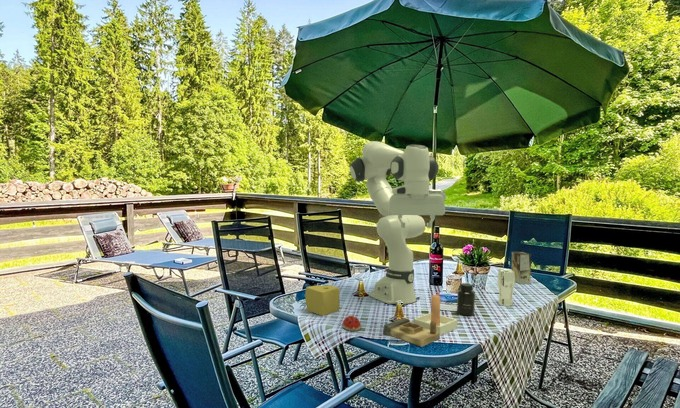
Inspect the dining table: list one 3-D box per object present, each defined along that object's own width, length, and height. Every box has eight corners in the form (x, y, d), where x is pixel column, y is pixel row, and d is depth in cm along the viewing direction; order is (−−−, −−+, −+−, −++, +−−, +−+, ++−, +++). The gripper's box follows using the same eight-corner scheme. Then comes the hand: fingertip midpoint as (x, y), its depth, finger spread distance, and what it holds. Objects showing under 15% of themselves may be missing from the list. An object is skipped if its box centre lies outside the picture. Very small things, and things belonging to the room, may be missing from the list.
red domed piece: (357, 322, 149) (357, 313, 148) (363, 332, 139) (364, 322, 139) (340, 323, 147) (340, 314, 147) (345, 333, 138) (345, 323, 137)
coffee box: (530, 283, 208) (531, 254, 208) (519, 284, 208) (520, 254, 207) (521, 279, 218) (521, 251, 217) (510, 280, 217) (511, 251, 216)
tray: (413, 327, 143) (413, 318, 143) (431, 320, 151) (431, 312, 151) (439, 335, 135) (439, 327, 135) (457, 328, 143) (457, 319, 142)
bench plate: (382, 333, 137) (382, 318, 137) (404, 325, 145) (404, 310, 145) (419, 347, 125) (420, 330, 125) (440, 338, 133) (441, 322, 133)
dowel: (429, 325, 143) (429, 296, 143) (434, 323, 145) (434, 294, 145) (436, 328, 141) (436, 298, 140) (441, 326, 143) (441, 296, 143)
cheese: (323, 305, 169) (323, 282, 168) (340, 311, 161) (341, 287, 161) (304, 310, 162) (305, 287, 161) (322, 317, 154) (322, 292, 153)
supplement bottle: (465, 317, 155) (466, 287, 154) (453, 312, 161) (453, 283, 160) (478, 314, 158) (478, 285, 157) (465, 309, 164) (466, 281, 163)
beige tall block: (515, 307, 168) (516, 272, 167) (498, 305, 169) (499, 271, 169) (512, 302, 175) (512, 269, 174) (495, 301, 176) (496, 268, 176)
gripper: (443, 189, 143) (443, 227, 144) (388, 189, 144) (387, 226, 145) (447, 189, 137) (446, 228, 137) (389, 189, 138) (388, 228, 138)
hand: (416, 227), depth 141 cm, fingers open, 8 cm apart
